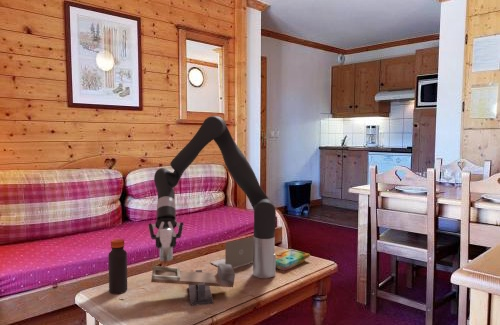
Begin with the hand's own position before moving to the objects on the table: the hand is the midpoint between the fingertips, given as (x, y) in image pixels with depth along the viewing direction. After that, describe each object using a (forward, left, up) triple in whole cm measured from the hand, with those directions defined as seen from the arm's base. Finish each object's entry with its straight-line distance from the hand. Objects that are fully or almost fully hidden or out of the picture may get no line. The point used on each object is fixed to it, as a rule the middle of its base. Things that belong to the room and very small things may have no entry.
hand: (166, 247), depth 144 cm
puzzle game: (-57, -23, -18) cm, 64 cm away
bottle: (+18, -5, -18) cm, 26 cm away
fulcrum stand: (-13, +5, -18) cm, 22 cm away
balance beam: (-10, +5, -11) cm, 16 cm away
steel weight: (0, -2, -5) cm, 6 cm away
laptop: (-31, -29, -18) cm, 46 cm away
